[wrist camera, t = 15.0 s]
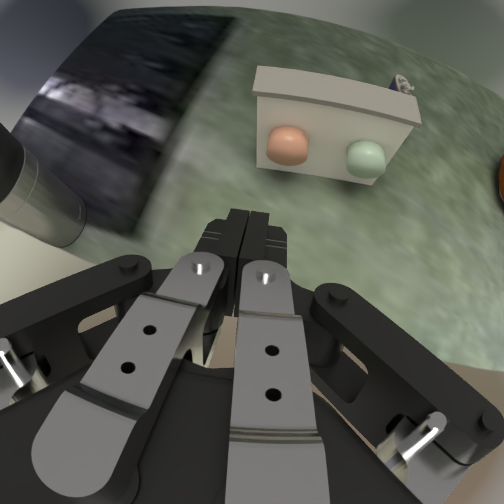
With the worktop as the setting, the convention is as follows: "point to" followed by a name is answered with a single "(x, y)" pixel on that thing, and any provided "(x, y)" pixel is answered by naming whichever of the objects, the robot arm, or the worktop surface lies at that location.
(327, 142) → the panel
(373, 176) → the sage button
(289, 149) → the terracotta button
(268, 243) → the robot arm
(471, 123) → the worktop surface
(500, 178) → the alarm clock
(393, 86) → the flask
